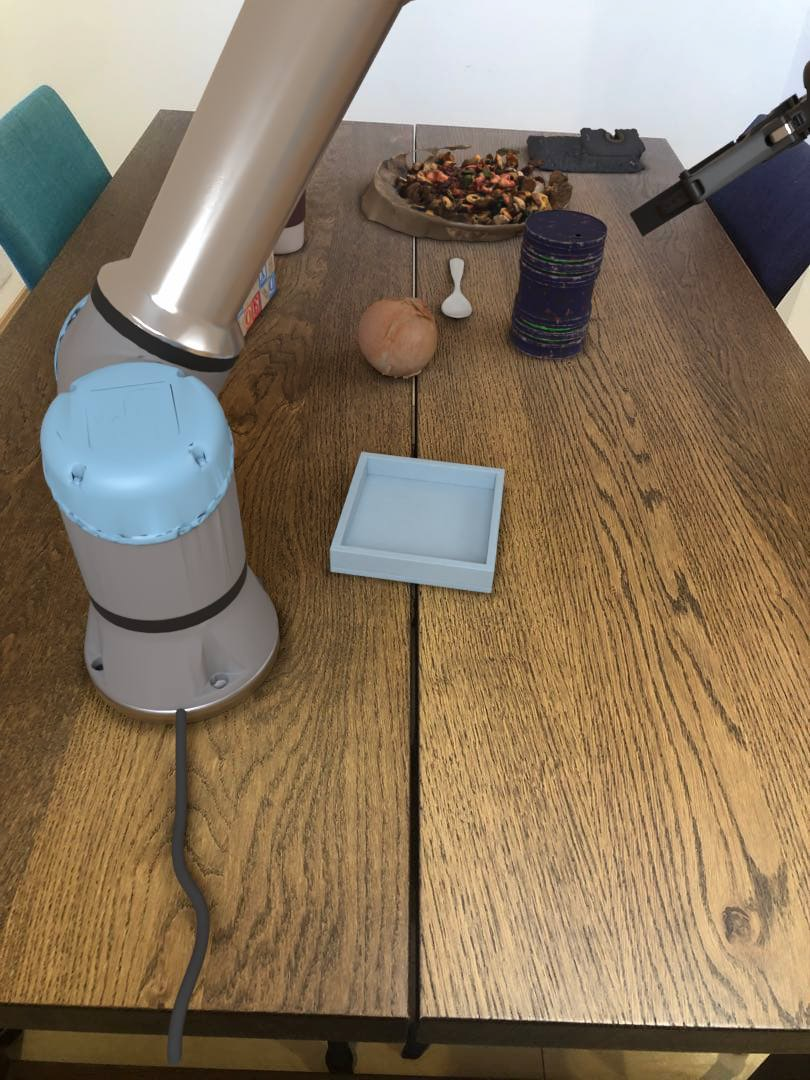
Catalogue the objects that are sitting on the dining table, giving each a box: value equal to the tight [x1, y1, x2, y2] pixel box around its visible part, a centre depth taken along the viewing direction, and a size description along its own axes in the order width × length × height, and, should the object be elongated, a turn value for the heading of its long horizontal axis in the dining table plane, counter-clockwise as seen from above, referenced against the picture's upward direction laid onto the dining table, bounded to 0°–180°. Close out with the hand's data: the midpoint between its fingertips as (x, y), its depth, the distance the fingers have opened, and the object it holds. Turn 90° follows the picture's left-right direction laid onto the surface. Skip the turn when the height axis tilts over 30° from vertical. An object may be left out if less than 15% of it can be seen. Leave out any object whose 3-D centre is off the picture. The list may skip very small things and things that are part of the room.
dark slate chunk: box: [525, 127, 647, 174], centre depth 155 cm, size 15×22×5 cm
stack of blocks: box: [238, 251, 277, 337], centre depth 102 cm, size 21×6×12 cm, turn 168°
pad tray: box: [329, 451, 506, 594], centre depth 78 cm, size 15×15×3 cm
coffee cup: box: [273, 188, 307, 255], centre depth 119 cm, size 10×10×15 cm
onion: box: [356, 296, 438, 380], centre depth 96 cm, size 10×9×10 cm
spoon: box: [440, 257, 473, 319], centre depth 114 cm, size 4×21×2 cm, turn 177°
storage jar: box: [509, 209, 609, 360], centre depth 101 cm, size 10×10×15 cm
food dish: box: [361, 143, 574, 243], centre depth 136 cm, size 35×33×8 cm
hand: (662, 204), depth 88 cm, fingers open, 13 cm apart
